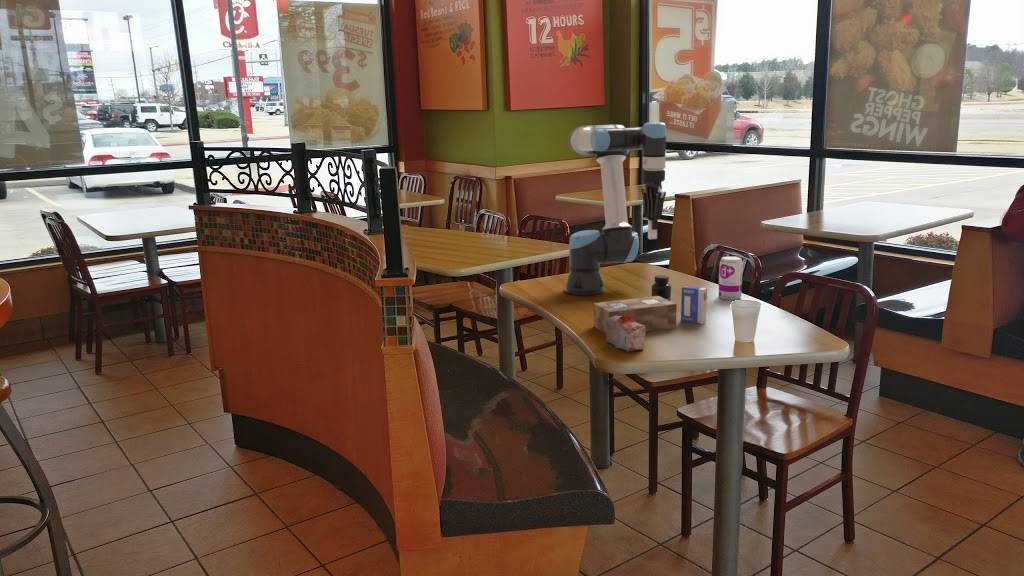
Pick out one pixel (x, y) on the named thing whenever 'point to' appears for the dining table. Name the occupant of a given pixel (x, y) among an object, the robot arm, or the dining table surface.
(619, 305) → the peg near
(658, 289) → the supplement bottle
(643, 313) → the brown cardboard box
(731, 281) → the supplement can
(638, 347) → the food item
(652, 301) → the peg far
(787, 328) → the dining table surface
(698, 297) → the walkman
